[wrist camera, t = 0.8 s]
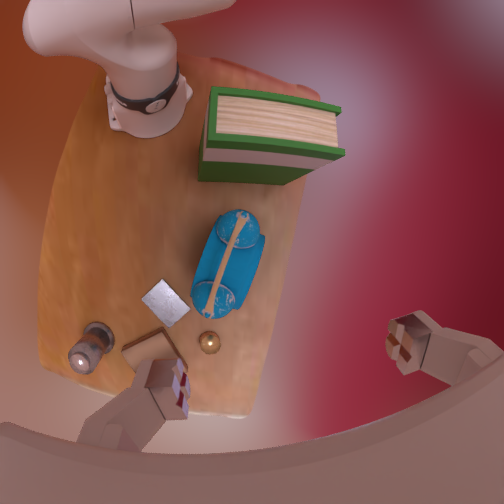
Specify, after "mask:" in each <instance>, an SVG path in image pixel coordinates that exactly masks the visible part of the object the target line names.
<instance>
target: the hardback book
mask: <svg viewBox="0 0 504 504" xmlns="http://www.w3.org/2000/svg"><path fill="white" fill-rule="evenodd" d="M340 113H341V107H339V106H335V105H331V104H326V103H323V102H318V101H314V100H309V99H304V98H299V97H294V96H288V95H283V94H277V93H270V92H263V91H256V90H248V89H238V88H228V87H214V86H212V87H211V92H210V96H209V101H208V106H207V110H206V115H205V120H204V125H203V130H202V136H201V141H200V147H199V166H198V181H206V182H235V183H255V184H271V185H285V184H287V183H289V182H291V181H293V180H295V179H297V178H299V177H301V176H303V175H305V174H307V173H309V172H312V171H314V170H315V169H318V168H320V167H322V166H324V165H326V164H328V163H330V162H333V161H335V160H337V159H339V158H341V157H343V156H345V149H342V148H338V142H337V129H336V116H338V115H339V114H340Z"/></svg>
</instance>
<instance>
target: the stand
mask: <svg viewBox="0 0 504 504" xmlns="http://www.w3.org/2000/svg"><path fill="white" fill-rule="evenodd" d="M121 353H122V354H123V356H124V357H125V359H126V360H127V362H128V363H129V365H130V366H131V368H132V369H133V371H134V372H135V373H136V372H137V369H138V367H139V364H140V362H141V361H142V360H143V359H169V358H180V359H181V360H182V363H183V365H184V368H183V372H184V373H187V372H188V366H187V364H186V363H185V361H184V360H183V358H182V357H181V355H180V353H179V352H178V350H177V349H176V347H175V346H174V344H173V342H172V341H171V339H170V338H169V336H168V334H167V333H166V331H165V329H164V328H163V327H162V328H160V329H158V330H156V331H154V332H152V333H150V334H148V335H146V336H144V337H142V338H140V339H138V340H136V341H134V342H132V343H130V344H128V345H126V346H124V347H123V349H122V351H121Z"/></svg>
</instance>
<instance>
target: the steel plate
mask: <svg viewBox="0 0 504 504" xmlns="http://www.w3.org/2000/svg"><path fill="white" fill-rule="evenodd" d="M141 300H142V301H143V302H144V303H145V304H146V305H147V306H148V307H149V308H150V309H151V310H152V311H153V312H154V313H155V314H156V315H157V316H158V318H159V319H160V320H161V321H162V322H163V323H164V324H165V325H166V326H167V327H168V328H170V327H171V326H172V325H173V324H174V323H175V322H177V321H178V320H179V319H180V318H181V317H182V316H183V315H184V314H185V313H187V312H188V311H189V310H190V307H189V306H188V305H187V304H186V303H185V302H184V301H183V300H182V299H181V298H180V297H179V296H178V295H177V294H176V293H175V291H174V290H173V289H172V288H171V287H170V286H169V285H168V284H167V283H166V282H165V281H164V279H162V280H161V281H160V282H159V283H158V284H157V285H156V286H155V287H153V288H152V289H151V290H150V291H149V292H148V293H147V294H146V295H145V296H144V297H143V298H142V299H141Z"/></svg>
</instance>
